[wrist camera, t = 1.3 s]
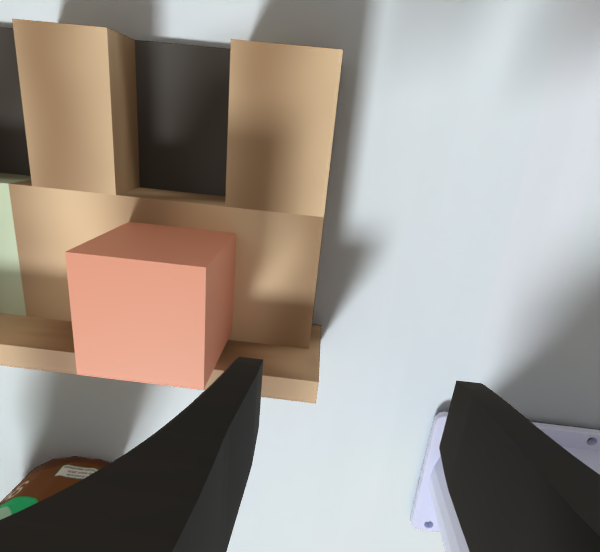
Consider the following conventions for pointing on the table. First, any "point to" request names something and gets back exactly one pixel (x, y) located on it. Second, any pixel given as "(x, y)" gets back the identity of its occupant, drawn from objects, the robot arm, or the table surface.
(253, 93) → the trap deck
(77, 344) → the clay-red block
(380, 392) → the table surface
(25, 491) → the food container
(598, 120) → the table surface
